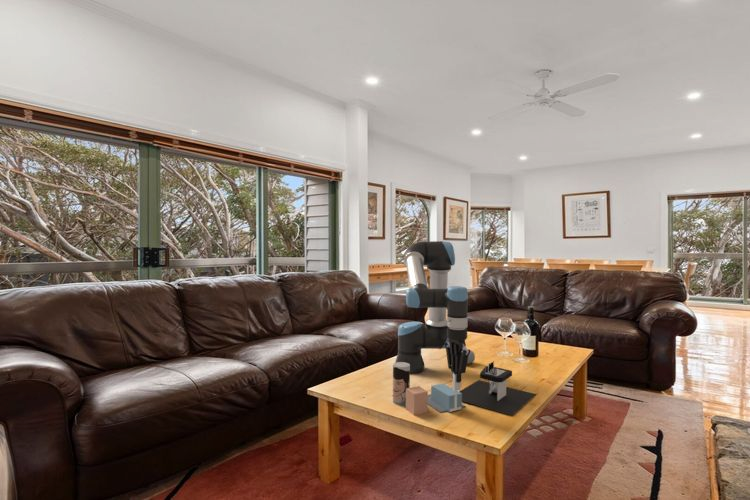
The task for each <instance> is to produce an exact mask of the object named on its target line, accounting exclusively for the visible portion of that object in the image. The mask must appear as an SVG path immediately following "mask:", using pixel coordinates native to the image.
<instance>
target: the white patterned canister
mask: <svg viewBox="0 0 750 500" xmlns="http://www.w3.org/2000/svg"><path fill="white" fill-rule="evenodd" d="M410 376H411V374H410V364H409V363H405V362H397V363H395V362H394V363H393V364H392V403H393V404H395V405H397V406H398V405H399V406H406V389H407V388H411V387H410V385H411V377H410Z"/></svg>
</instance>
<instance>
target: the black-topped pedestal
mask: <svg viewBox="0 0 750 500" xmlns="http://www.w3.org/2000/svg"><path fill="white" fill-rule="evenodd" d="M512 376H513V371H512V370H510V369H505V368H501V367H497V366H495V360H493V361H492V362H490V363H488V365H484V368H483V369H482V370H481V371H480V373H479V378H480V379H478V380H476V381H474V382H473V383H471V384H469V385H468V386H466V387H464V388H462V389H461V390H458V392H460V393H462V403H467V404H470V405H475V406H477V407H482V408H484V409H488V410H492V411H495V412H499V413H502V414H506V415H509V416H513V415H514V414H516V413H517V412H518V411H519V410H520V409H521V408H523V406H525V405H526V404H527V403H528V402H530V401H531V399H533V398H534V397H535V396H536V395H537V393H535V392H534V393H533V392H530V391H525V390H520V389H517V388H513V387H509V386H507V380H508V379H509V378H511V377H512ZM481 379H482V380H481Z"/></svg>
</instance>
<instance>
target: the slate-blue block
mask: <svg viewBox="0 0 750 500" xmlns="http://www.w3.org/2000/svg"><path fill="white" fill-rule="evenodd" d="M430 394H431V401H433V402H434V403H436V404H437V405H439V406H441V407H442V408H444V409H445V410H447V411H446V412H448V413H449V412H450V413H451V412H454V411H459V410H463V408H462V404H463V401H462V393H460V392H459V390H458V391H454V390H452V387H450V386H449V385H447V384H445V383H439V384H433V385H431V386H430Z"/></svg>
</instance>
